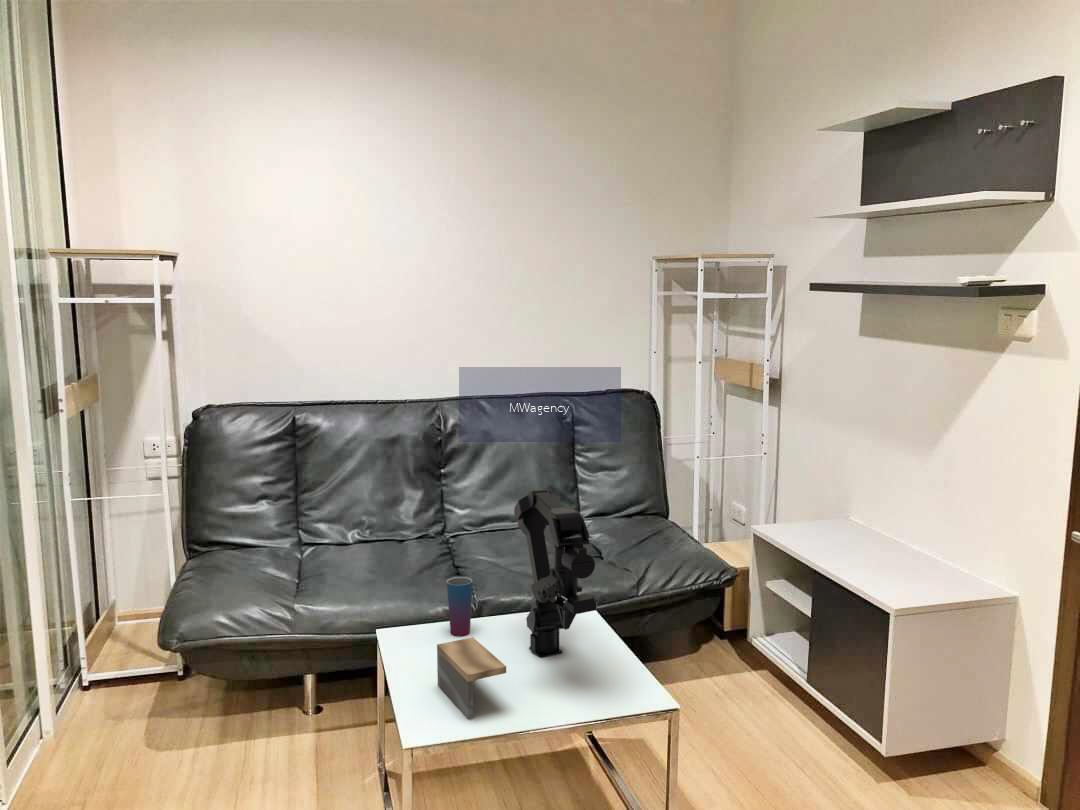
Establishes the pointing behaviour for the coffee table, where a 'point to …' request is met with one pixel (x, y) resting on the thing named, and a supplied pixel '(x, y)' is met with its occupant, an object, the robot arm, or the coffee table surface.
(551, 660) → the coffee table surface
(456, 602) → the cup
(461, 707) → the block
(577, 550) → the robot arm
